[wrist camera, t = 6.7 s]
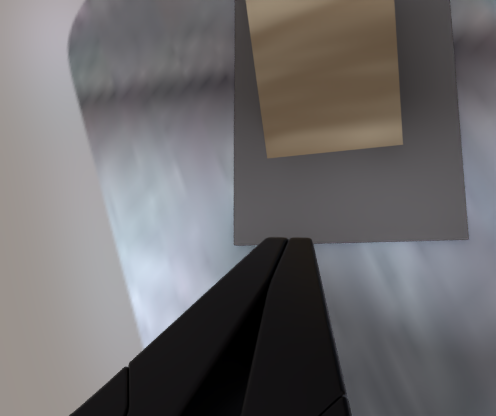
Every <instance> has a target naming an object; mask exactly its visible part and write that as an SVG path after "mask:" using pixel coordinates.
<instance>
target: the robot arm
mask: <svg viewBox="0 0 496 416" xmlns="http://www.w3.org/2000/svg"><path fill="white" fill-rule="evenodd" d="M69 416H352V414H351V410H350V405H349V401H348V398H347V393H346V389H345V384H344V380H343V375H342V371H341V366H340V362H339V357H338V353H337V348H336V344H335V339H334V335H333V331H332V326H331V322H330V317H329V313H328V308H327V304H326V299H325V295H324V290H323V286H322V281H321V277H320V272H319V268H318V263H317V259H316V254H315V250H314V245H313V241H312V239H311V238H303V237H293V238H290V239H288V238H286V237H268V238H266V239H264V240H263V241H262V242H261V243H260V244H259V245H258V246H256V247H255V248H254V249H253V250H252V251H251V252H250V253H249V254H248V255H247V256H246V257H244V258H243V259H242V260H241V261H240V262H239V263H238V264H237V265H236V266H235V267H234V268H232V269H231V270H230V271H229V272H228V273H227V274H226V275H225V276H224V277H223V278H221V279H220V280H219V281H218V282H217V283H216V284H215V285H214V286H213V287H212V288H211V289H209V290H208V291H207V292H206V293H205V294H204V295H203V296H202V297H201V298H200V299H198V300H197V301H196V302H195V303H194V304H193V305H192V306H191V307H190V308H189V309H188V310H186V311H185V312H184V313H183V314H182V315H181V316H180V317H179V318H178V319H177V320H176V321H174V322H173V323H172V324H171V325H170V326H169V327H168V328H167V329H166V330H165V331H163V332H162V333H161V334H160V335H159V336H158V337H157V338H156V339H155V340H154V341H153V342H151V343H150V344H149V345H148V346H147V347H146V348H145V349H144V350H143V351H142V352H141V353H139V354H138V355H137V356H136V357H135V358H134V359H133V360H132V361H131V362H130V363H129V366H128V367H124V368H123V369H122V370H121V371H120V372H118V373H117V374H116V375H115V376H114V377H113V378H112V379H111V380H110V381H109V382H108V383H106V384H105V385H104V386H103V387H102V388H101V389H99V391H97V392H96V393H95V394H94V395H93V396H92V397H90V398H89V399H88V400H87V401H86V402H85V403H84V404H82V405H81V406H80V407H79V408H78V409H77V410H75V411H74V412H73V413H72V414H70V415H69Z"/></svg>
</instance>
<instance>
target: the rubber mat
mask: <svg viewBox="0 0 496 416" xmlns="http://www.w3.org/2000/svg"><path fill="white" fill-rule="evenodd" d="M394 4H395V21H396V37H397V54H398V70H399V87H400V103H401V120H402V137H403V145H395V146H385V147H375V148H365V149H355V150H346V151H336V152H326V153H316V154H306V155H296V156H287V157H277V158H267V153H266V145H265V138H264V131H263V123H262V116H261V109H260V101H259V94H258V87H257V80H256V72H255V65H254V58H253V50H252V43H251V36H250V28H249V21H248V14H247V6H246V0H235V107H234V245H236V246H244V245H259V244H260V243H261V242H262V241H263V240H264V239H266V238H268V237H286V238H288V239H290V238H293V237H303V238H311V239H312V241H313V244H322V243H361V242H401V241H440V240H468V239H469V236H468V223H467V211H466V198H465V186H464V173H463V161H462V148H461V135H460V123H459V110H458V98H457V85H456V72H455V60H454V47H453V35H452V22H451V9H450V0H394Z"/></svg>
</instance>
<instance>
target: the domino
mask: <svg viewBox="0 0 496 416" xmlns="http://www.w3.org/2000/svg"><path fill="white" fill-rule="evenodd" d="M246 6H247V14H248V21H249V28H250V36H251V43H252V50H253V58H254V65H255V72H256V80H257V87H258V94H259V101H260V109H261V116H262V123H263V131H264V138H265V145H266V153H267V158H277V157H287V156H296V155H306V154H316V153H326V152H336V151H346V150H355V149H365V148H375V147H385V146H395V145H403V137H402V120H401V103H400V87H399V70H398V54H397V37H396V21H395V4H394V0H246Z"/></svg>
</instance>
